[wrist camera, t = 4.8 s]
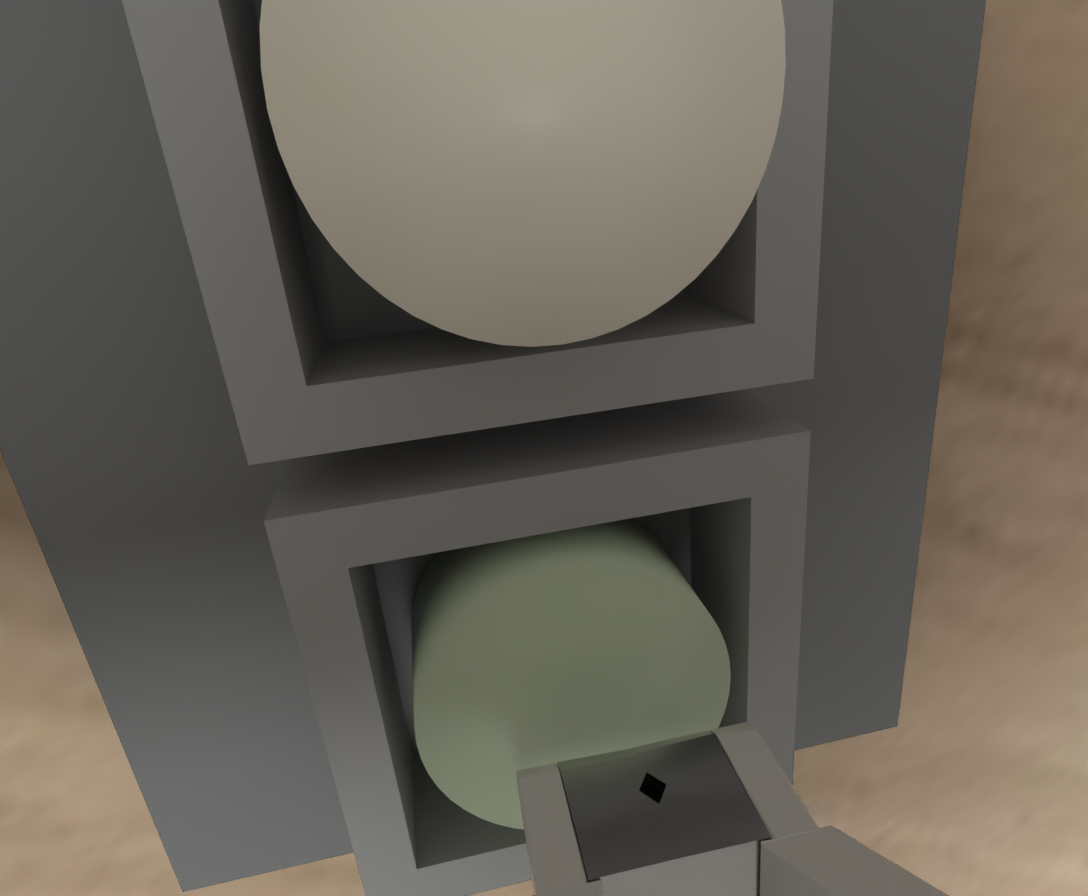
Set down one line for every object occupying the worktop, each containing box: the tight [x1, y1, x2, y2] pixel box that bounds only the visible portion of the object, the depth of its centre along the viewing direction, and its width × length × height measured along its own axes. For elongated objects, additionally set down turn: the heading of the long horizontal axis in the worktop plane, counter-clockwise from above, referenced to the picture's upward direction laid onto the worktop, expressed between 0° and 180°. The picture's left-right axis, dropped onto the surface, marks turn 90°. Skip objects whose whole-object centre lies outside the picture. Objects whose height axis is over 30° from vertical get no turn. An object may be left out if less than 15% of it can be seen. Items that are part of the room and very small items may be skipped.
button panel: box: [0, 0, 986, 896], centre depth 9 cm, size 14×24×4 cm, turn 5°
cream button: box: [260, 0, 786, 347], centre depth 7 cm, size 4×4×2 cm
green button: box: [411, 518, 731, 829], centre depth 11 cm, size 4×4×2 cm
